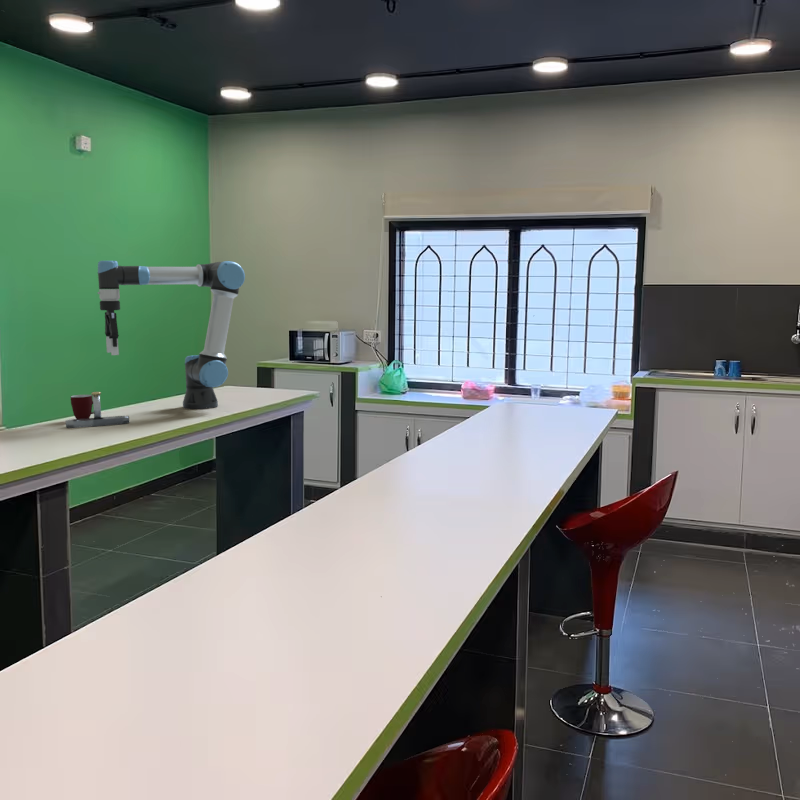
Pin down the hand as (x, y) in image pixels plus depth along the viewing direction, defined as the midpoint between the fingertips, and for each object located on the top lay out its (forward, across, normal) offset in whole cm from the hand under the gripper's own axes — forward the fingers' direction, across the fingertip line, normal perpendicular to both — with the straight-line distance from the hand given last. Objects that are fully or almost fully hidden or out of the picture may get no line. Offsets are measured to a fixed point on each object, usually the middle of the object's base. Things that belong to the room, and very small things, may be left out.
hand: (112, 353), depth 315 cm
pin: (+27, +9, -8) cm, 29 cm away
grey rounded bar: (+27, +9, -8) cm, 29 cm away
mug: (+27, -5, -11) cm, 29 cm away
